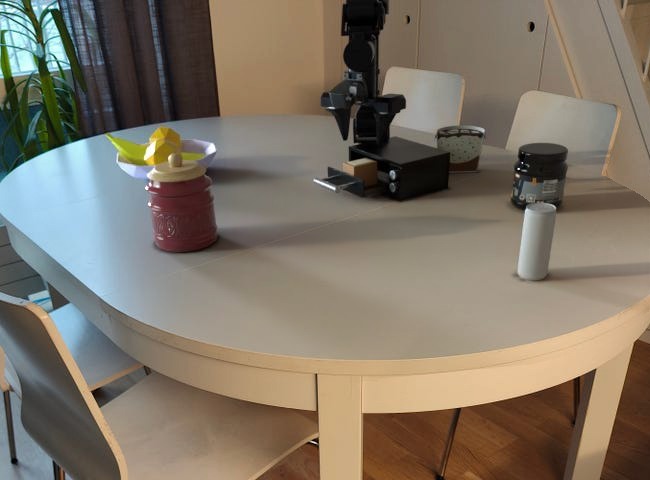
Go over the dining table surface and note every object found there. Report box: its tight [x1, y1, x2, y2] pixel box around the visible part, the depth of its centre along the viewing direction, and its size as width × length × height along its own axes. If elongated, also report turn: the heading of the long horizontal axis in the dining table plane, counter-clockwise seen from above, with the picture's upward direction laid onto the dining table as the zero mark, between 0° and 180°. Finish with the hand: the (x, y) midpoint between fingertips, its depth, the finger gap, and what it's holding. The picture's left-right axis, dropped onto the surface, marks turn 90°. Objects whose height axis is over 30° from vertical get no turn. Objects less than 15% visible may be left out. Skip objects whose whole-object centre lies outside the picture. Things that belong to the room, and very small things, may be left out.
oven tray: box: [312, 166, 390, 199], centre depth 158 cm, size 14×18×4 cm
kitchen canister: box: [145, 153, 219, 253], centre depth 135 cm, size 13×13×18 cm
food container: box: [433, 124, 487, 174], centre depth 168 cm, size 12×6×10 cm, turn 84°
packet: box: [342, 158, 377, 187], centre depth 158 cm, size 4×6×5 cm
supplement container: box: [510, 142, 569, 212], centre depth 142 cm, size 10×10×12 cm
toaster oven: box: [348, 136, 450, 202], centre depth 160 cm, size 20×15×8 cm
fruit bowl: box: [105, 125, 218, 181], centre depth 179 cm, size 28×27×11 cm
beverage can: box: [517, 203, 557, 281], centre depth 113 cm, size 5×5×12 cm
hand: (362, 142), depth 148 cm, fingers open, 9 cm apart
